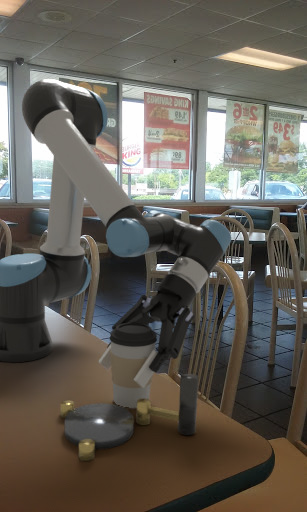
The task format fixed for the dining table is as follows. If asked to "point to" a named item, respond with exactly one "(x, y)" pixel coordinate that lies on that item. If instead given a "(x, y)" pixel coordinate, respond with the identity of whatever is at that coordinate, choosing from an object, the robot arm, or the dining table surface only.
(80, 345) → the dining table surface
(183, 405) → the lever
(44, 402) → the dining table surface
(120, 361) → the coffee cup
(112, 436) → the plate
